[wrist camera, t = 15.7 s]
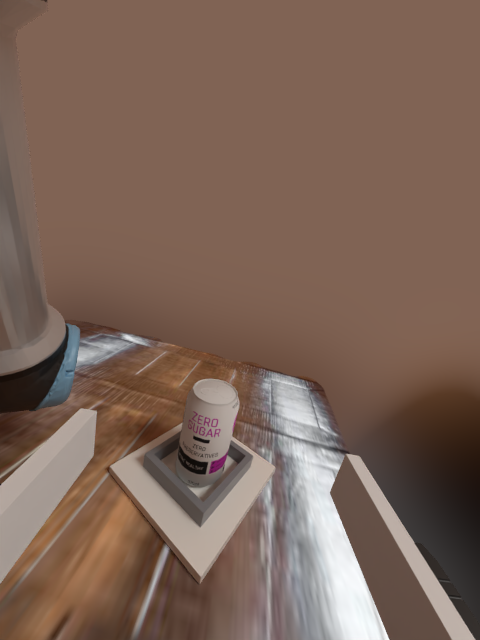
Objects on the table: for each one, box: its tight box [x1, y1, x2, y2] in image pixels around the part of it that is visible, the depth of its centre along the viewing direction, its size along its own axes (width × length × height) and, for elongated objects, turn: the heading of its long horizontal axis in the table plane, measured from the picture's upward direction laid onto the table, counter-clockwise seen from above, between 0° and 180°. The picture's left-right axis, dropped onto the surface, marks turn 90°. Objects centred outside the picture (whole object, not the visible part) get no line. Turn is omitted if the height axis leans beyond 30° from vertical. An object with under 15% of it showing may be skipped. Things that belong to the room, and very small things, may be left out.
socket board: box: [109, 423, 276, 584], centre depth 39 cm, size 20×20×4 cm
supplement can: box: [176, 379, 239, 487], centre depth 37 cm, size 8×8×15 cm
